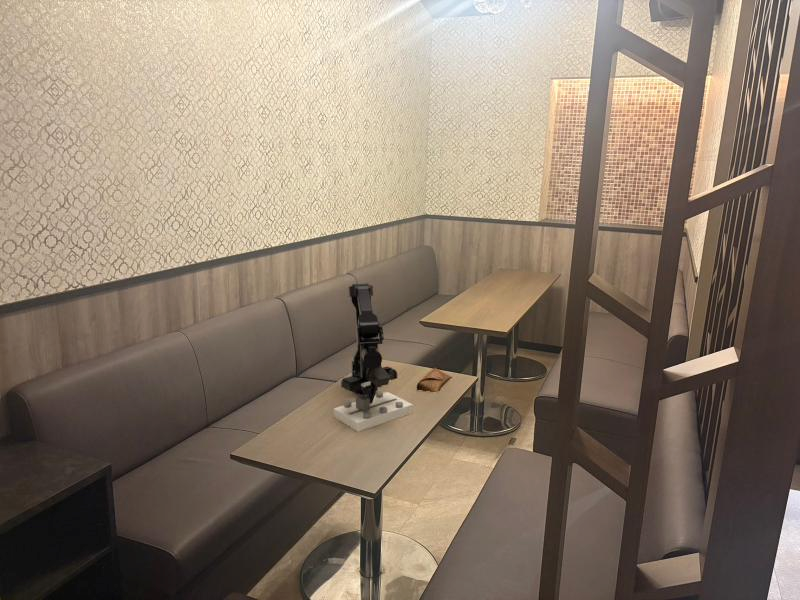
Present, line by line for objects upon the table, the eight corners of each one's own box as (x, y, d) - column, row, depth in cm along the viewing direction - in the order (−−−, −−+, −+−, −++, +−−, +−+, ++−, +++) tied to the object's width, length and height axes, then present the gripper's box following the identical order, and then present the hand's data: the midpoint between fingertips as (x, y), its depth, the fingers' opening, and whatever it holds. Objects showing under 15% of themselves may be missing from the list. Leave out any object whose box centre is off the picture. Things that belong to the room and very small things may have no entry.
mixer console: (334, 416, 193) (333, 404, 192) (387, 399, 206) (387, 388, 205) (357, 431, 182) (357, 419, 181) (412, 412, 195) (412, 401, 194)
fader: (356, 407, 192) (355, 396, 191) (362, 405, 193) (361, 394, 192) (363, 411, 188) (363, 400, 187) (369, 409, 190) (369, 398, 189)
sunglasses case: (438, 393, 211) (429, 377, 211) (422, 400, 214) (413, 384, 214) (453, 376, 227) (445, 361, 227) (438, 383, 230) (430, 368, 230)
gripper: (359, 371, 177) (360, 419, 180) (407, 358, 188) (408, 403, 191) (339, 361, 185) (341, 407, 189) (386, 349, 196) (387, 393, 200)
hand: (370, 403), depth 192 cm, fingers closed
